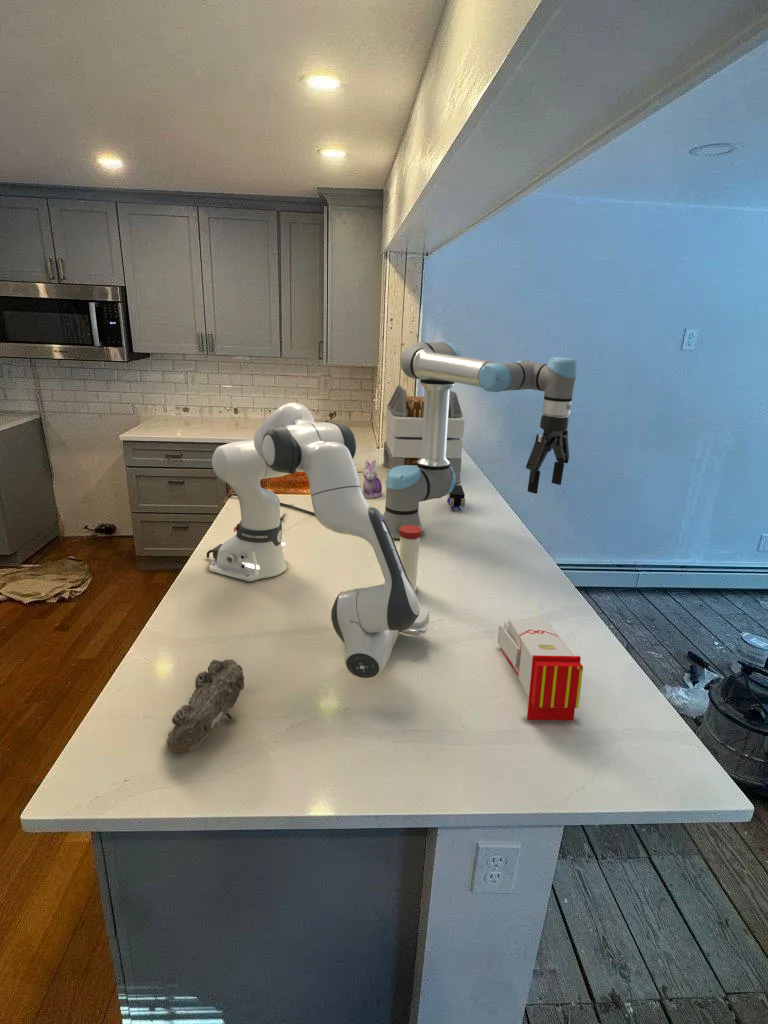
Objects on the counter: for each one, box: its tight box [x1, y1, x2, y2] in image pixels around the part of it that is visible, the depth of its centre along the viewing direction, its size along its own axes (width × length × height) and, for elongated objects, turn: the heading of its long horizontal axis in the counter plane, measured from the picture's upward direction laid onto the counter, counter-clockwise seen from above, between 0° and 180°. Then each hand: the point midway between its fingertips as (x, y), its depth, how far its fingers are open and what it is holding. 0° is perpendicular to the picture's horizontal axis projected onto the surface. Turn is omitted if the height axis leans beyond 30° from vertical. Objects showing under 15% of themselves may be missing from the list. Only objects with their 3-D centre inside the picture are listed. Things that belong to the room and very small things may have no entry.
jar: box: [398, 536, 421, 592], centre depth 158 cm, size 5×5×18 cm
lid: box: [399, 525, 423, 539], centre depth 155 cm, size 6×6×2 cm
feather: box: [280, 513, 286, 523], centre depth 210 cm, size 2×28×2 cm
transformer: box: [383, 384, 465, 484], centre depth 268 cm, size 34×33×41 cm
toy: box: [497, 618, 584, 722], centre depth 122 cm, size 12×13×30 cm
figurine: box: [362, 459, 383, 499], centre depth 237 cm, size 9×10×15 cm
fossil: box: [166, 658, 245, 754], centre depth 106 cm, size 22×10×15 cm
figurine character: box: [446, 484, 466, 511], centre depth 229 cm, size 7×8×15 cm
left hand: (393, 599), depth 143 cm, fingers open, 8 cm apart
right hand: (544, 488), depth 165 cm, fingers open, 13 cm apart
